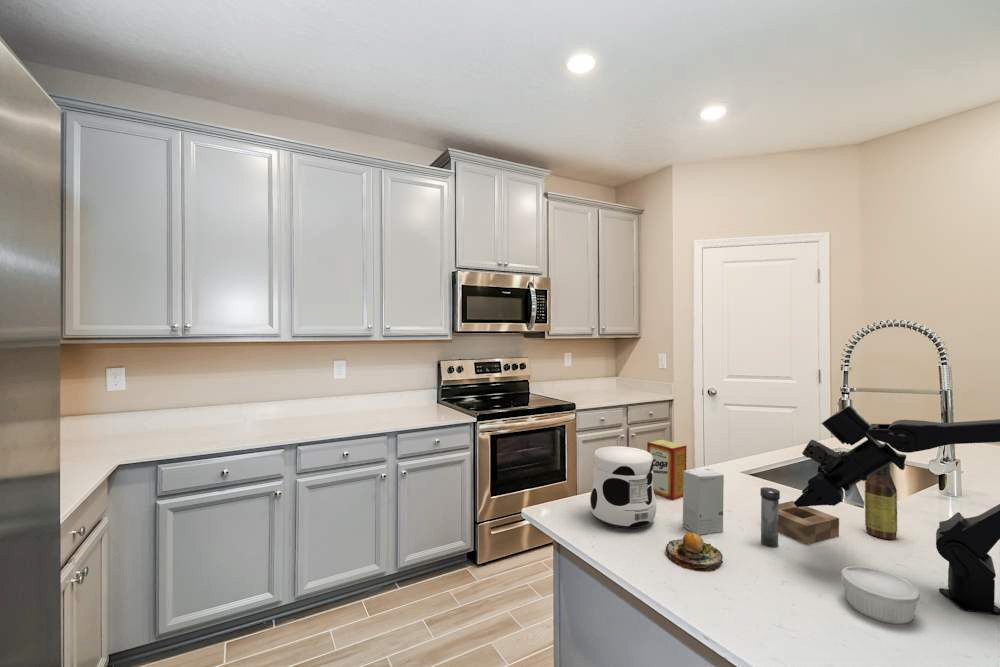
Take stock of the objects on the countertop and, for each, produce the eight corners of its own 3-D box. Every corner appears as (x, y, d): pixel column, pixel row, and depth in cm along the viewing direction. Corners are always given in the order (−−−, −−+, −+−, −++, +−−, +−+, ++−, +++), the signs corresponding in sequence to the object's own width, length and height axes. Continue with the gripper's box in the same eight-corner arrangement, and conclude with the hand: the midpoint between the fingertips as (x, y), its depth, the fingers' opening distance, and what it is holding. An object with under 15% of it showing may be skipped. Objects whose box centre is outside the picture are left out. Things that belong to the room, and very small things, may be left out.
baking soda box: (647, 490, 144) (647, 440, 144) (660, 486, 148) (660, 438, 147) (672, 500, 136) (673, 447, 136) (686, 496, 140) (686, 444, 139)
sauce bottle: (903, 541, 110) (904, 460, 110) (874, 539, 111) (875, 459, 111) (886, 529, 117) (887, 453, 116) (858, 527, 118) (859, 451, 117)
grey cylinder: (781, 548, 107) (782, 494, 106) (763, 546, 107) (763, 492, 107) (775, 540, 110) (776, 488, 110) (757, 539, 111) (758, 486, 111)
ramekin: (881, 591, 90) (881, 564, 90) (937, 628, 79) (938, 598, 79) (826, 592, 89) (826, 565, 89) (875, 630, 78) (875, 600, 78)
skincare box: (697, 536, 113) (698, 477, 113) (681, 526, 119) (681, 469, 118) (724, 531, 115) (725, 473, 115) (707, 521, 121) (707, 466, 121)
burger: (731, 560, 102) (732, 527, 102) (708, 579, 94) (708, 543, 94) (680, 540, 111) (681, 510, 111) (655, 557, 103) (656, 524, 103)
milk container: (604, 502, 135) (604, 442, 134) (663, 516, 125) (664, 451, 125) (579, 523, 120) (580, 455, 120) (645, 540, 111) (645, 467, 110)
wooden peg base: (838, 536, 113) (839, 518, 113) (806, 544, 109) (806, 526, 109) (792, 517, 124) (792, 500, 124) (761, 524, 120) (761, 507, 120)
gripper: (835, 424, 107) (780, 460, 115) (822, 438, 94) (761, 478, 102) (877, 464, 102) (817, 499, 110) (870, 485, 89) (802, 524, 96)
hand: (799, 499), depth 105 cm, fingers open, 9 cm apart
